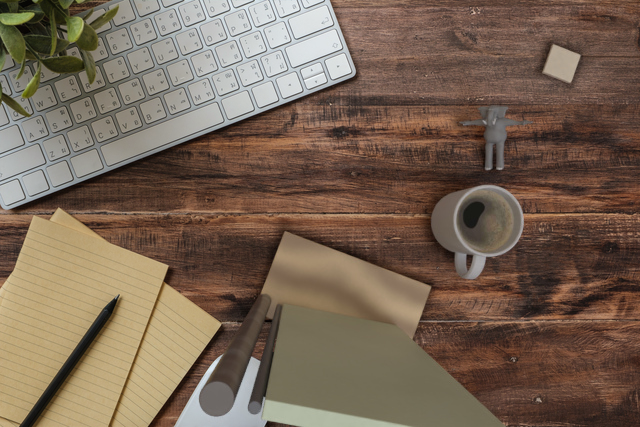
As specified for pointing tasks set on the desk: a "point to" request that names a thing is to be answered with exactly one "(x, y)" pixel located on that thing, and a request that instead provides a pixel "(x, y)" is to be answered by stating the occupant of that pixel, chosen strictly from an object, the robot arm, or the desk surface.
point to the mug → (477, 225)
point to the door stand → (314, 305)
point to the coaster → (561, 64)
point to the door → (355, 376)
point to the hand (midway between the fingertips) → (355, 337)
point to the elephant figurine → (494, 132)
